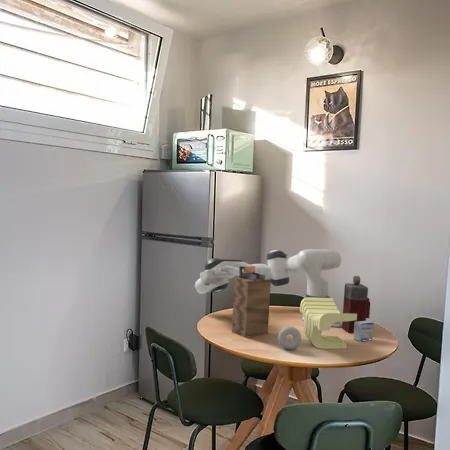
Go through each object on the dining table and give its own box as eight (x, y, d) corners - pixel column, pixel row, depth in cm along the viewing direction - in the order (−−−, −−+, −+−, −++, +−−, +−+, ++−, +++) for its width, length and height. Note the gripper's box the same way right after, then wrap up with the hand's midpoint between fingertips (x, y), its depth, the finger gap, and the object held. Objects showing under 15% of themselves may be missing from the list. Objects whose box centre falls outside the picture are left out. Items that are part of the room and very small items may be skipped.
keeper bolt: (220, 271, 228) (220, 261, 228) (229, 271, 232) (230, 260, 232) (245, 278, 212) (245, 267, 212) (254, 277, 216) (255, 266, 216)
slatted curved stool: (298, 333, 217) (300, 297, 216) (330, 334, 219) (332, 298, 218) (317, 354, 187) (320, 312, 186) (354, 355, 189) (357, 313, 188)
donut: (300, 348, 194) (301, 326, 193) (301, 351, 190) (302, 328, 190) (276, 347, 194) (278, 324, 193) (277, 350, 190) (279, 327, 190)
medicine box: (359, 342, 208) (361, 323, 208) (353, 339, 212) (354, 321, 212) (372, 340, 212) (373, 322, 211) (365, 337, 216) (366, 319, 215)
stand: (231, 331, 214) (235, 266, 212) (254, 328, 222) (257, 265, 220) (245, 337, 206) (248, 270, 204) (267, 333, 214) (271, 268, 212)
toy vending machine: (369, 333, 223) (373, 278, 221) (347, 333, 222) (351, 277, 220) (362, 328, 232) (366, 274, 230) (341, 328, 231) (345, 274, 229)
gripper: (231, 282, 243) (245, 273, 233) (199, 284, 231) (214, 275, 221) (228, 271, 245) (242, 261, 235) (197, 273, 233) (210, 263, 223)
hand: (228, 268), depth 228 cm, fingers open, 7 cm apart
